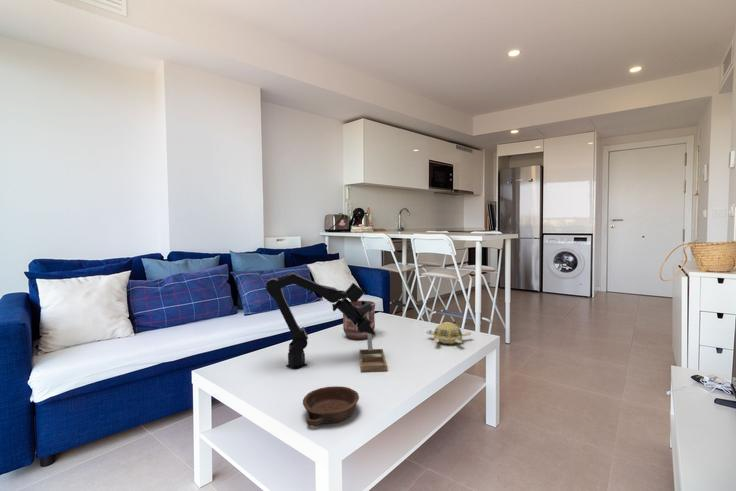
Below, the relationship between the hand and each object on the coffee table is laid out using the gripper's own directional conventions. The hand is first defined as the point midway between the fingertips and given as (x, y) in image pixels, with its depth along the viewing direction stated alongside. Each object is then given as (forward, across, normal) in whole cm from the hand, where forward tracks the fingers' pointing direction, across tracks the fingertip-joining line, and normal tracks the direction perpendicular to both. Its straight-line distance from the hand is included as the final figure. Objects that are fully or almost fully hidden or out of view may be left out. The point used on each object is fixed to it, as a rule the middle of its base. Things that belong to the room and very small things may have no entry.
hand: (373, 333), depth 163 cm
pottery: (+8, +35, +8) cm, 37 cm away
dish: (-8, -43, +25) cm, 51 cm away
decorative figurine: (+36, +14, -20) cm, 43 cm away
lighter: (+4, 0, +6) cm, 8 cm away
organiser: (+7, -5, +9) cm, 12 cm away
